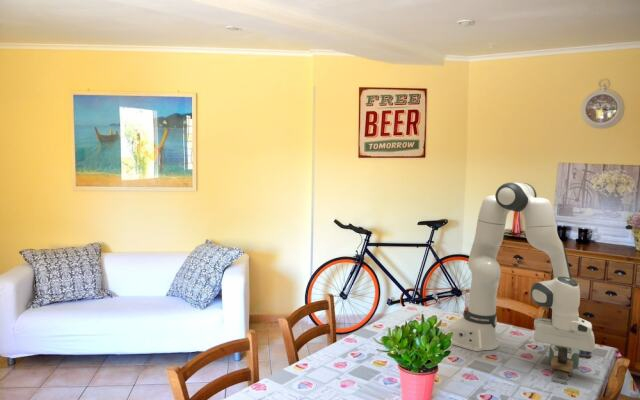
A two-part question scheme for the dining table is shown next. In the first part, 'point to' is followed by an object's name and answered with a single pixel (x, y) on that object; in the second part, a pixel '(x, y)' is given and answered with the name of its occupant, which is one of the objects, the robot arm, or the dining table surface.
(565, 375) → the rail
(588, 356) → the pill bottle
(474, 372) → the dining table surface
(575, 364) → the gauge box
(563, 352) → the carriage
